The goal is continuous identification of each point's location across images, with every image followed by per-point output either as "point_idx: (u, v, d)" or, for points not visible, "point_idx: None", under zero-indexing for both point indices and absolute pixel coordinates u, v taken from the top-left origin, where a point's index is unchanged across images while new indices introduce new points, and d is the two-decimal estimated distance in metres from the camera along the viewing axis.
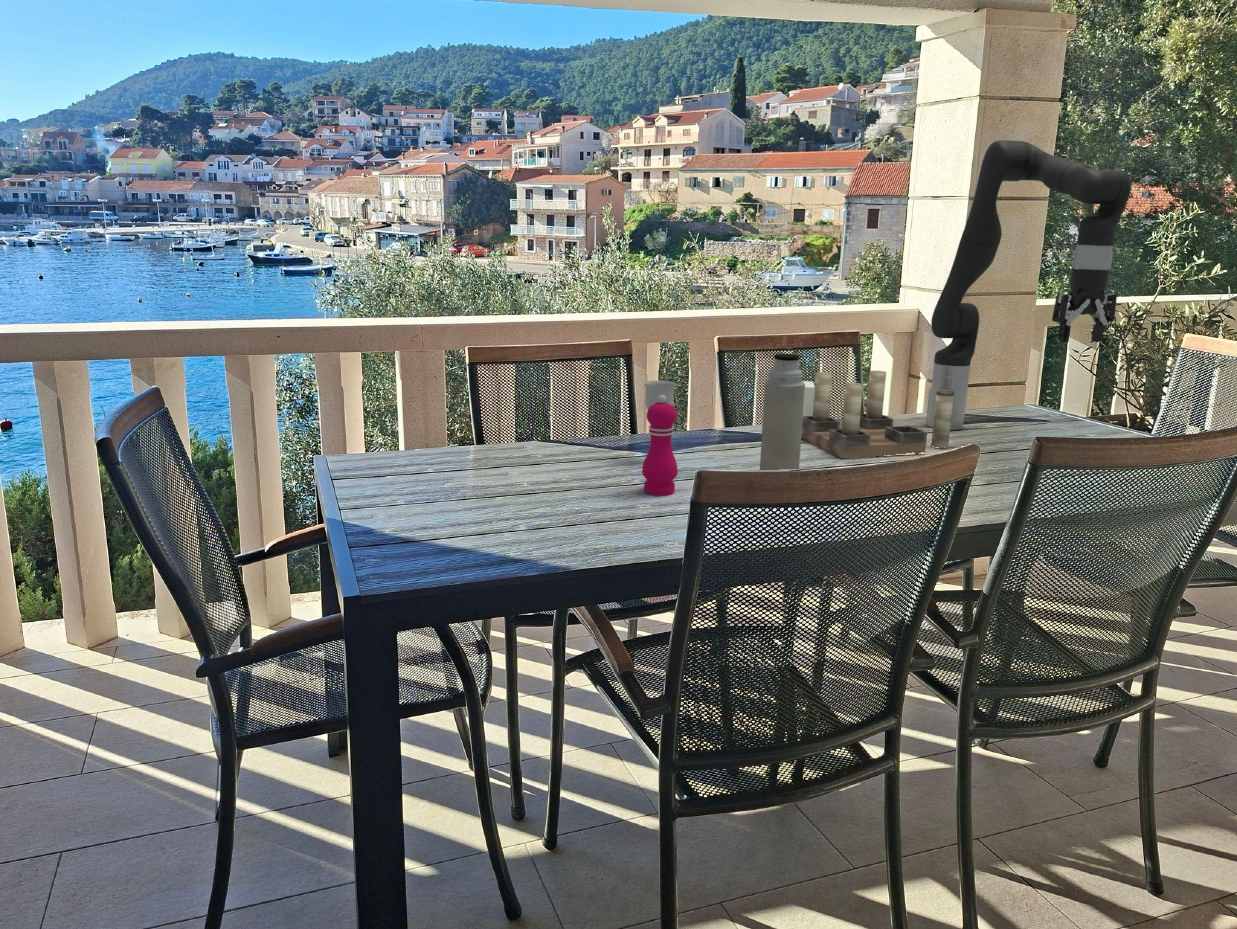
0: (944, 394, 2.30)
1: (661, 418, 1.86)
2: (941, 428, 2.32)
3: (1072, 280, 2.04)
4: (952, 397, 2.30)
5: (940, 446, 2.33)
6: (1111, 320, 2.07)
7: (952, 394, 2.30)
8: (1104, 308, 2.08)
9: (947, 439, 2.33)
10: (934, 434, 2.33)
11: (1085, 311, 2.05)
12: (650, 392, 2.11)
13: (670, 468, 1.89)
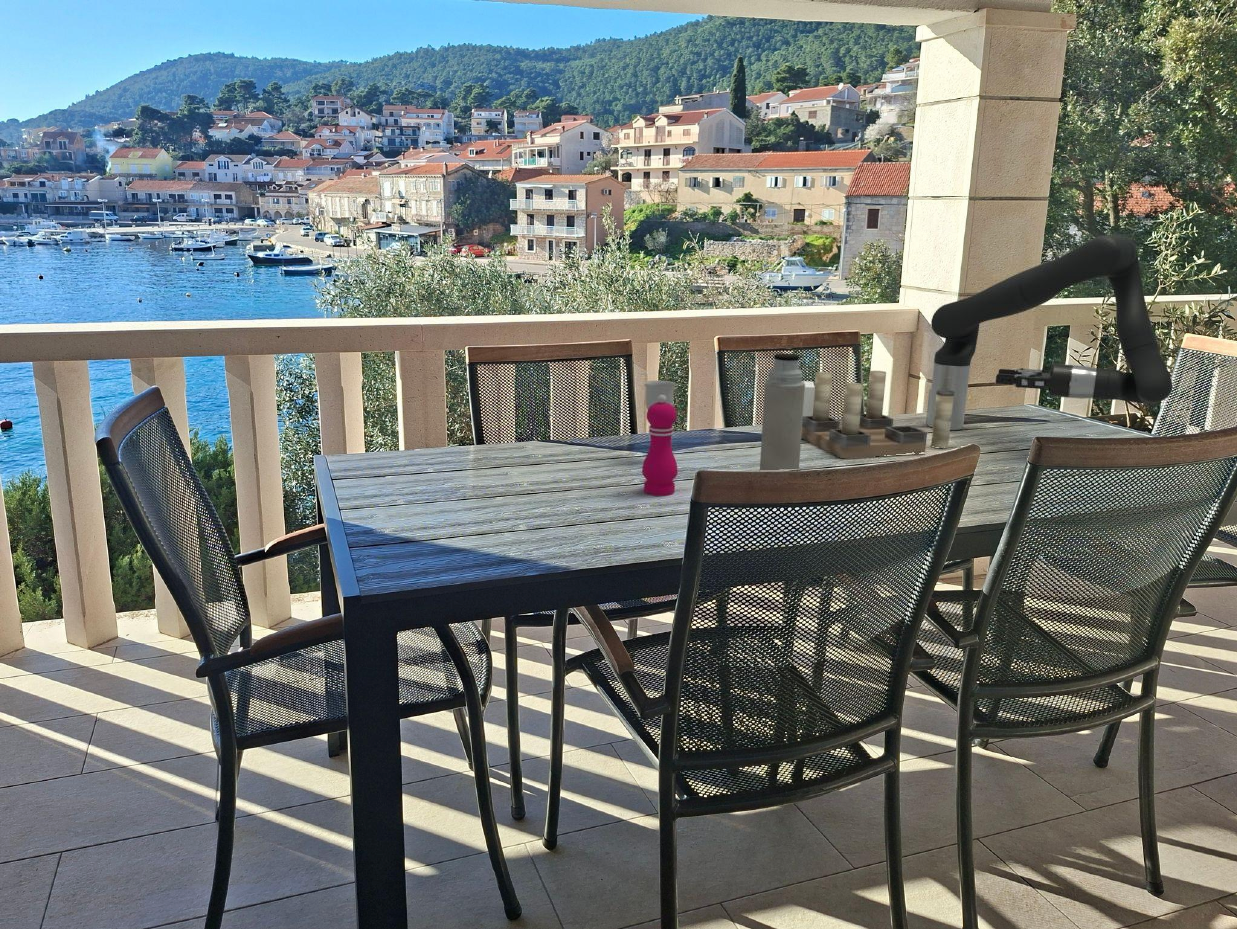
0: (944, 394, 2.30)
1: (661, 418, 1.87)
2: (941, 428, 2.32)
3: (1059, 379, 2.17)
4: (952, 397, 2.30)
5: (940, 446, 2.33)
6: None
7: (952, 394, 2.30)
8: None
9: (947, 439, 2.33)
10: (934, 434, 2.33)
11: None
12: (650, 392, 2.11)
13: (670, 468, 1.89)
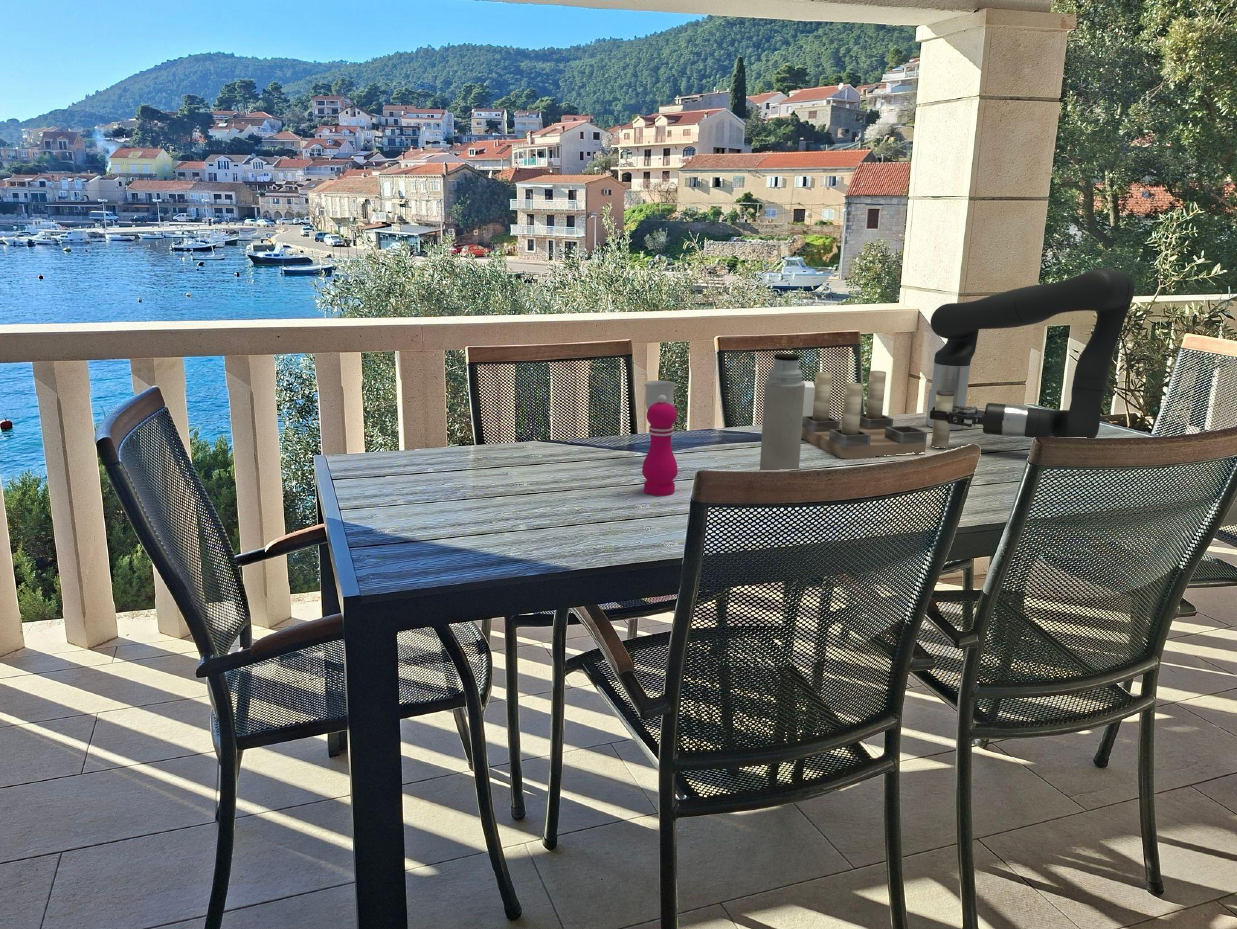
0: (944, 394, 2.30)
1: (661, 418, 1.86)
2: (941, 428, 2.32)
3: (992, 418, 2.25)
4: (952, 397, 2.30)
5: (940, 446, 2.33)
6: None
7: (952, 394, 2.30)
8: None
9: (947, 439, 2.33)
10: (934, 434, 2.33)
11: None
12: (650, 392, 2.11)
13: (670, 468, 1.89)
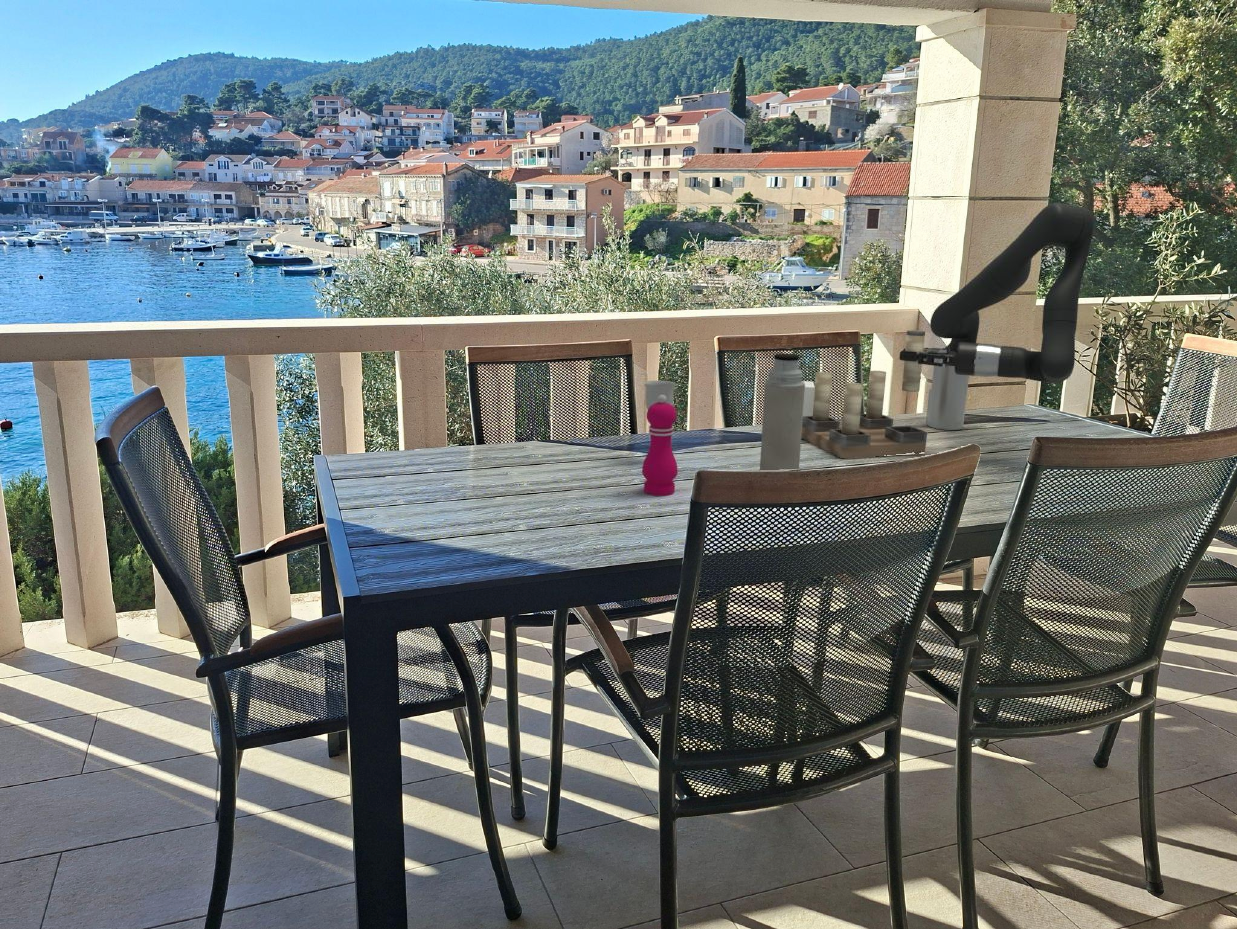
0: (914, 334, 2.20)
1: (661, 418, 1.87)
2: (912, 370, 2.23)
3: (964, 357, 2.15)
4: (923, 337, 2.21)
5: (911, 389, 2.24)
6: None
7: (923, 334, 2.21)
8: None
9: (918, 381, 2.24)
10: (905, 376, 2.24)
11: None
12: (650, 392, 2.11)
13: (670, 468, 1.89)
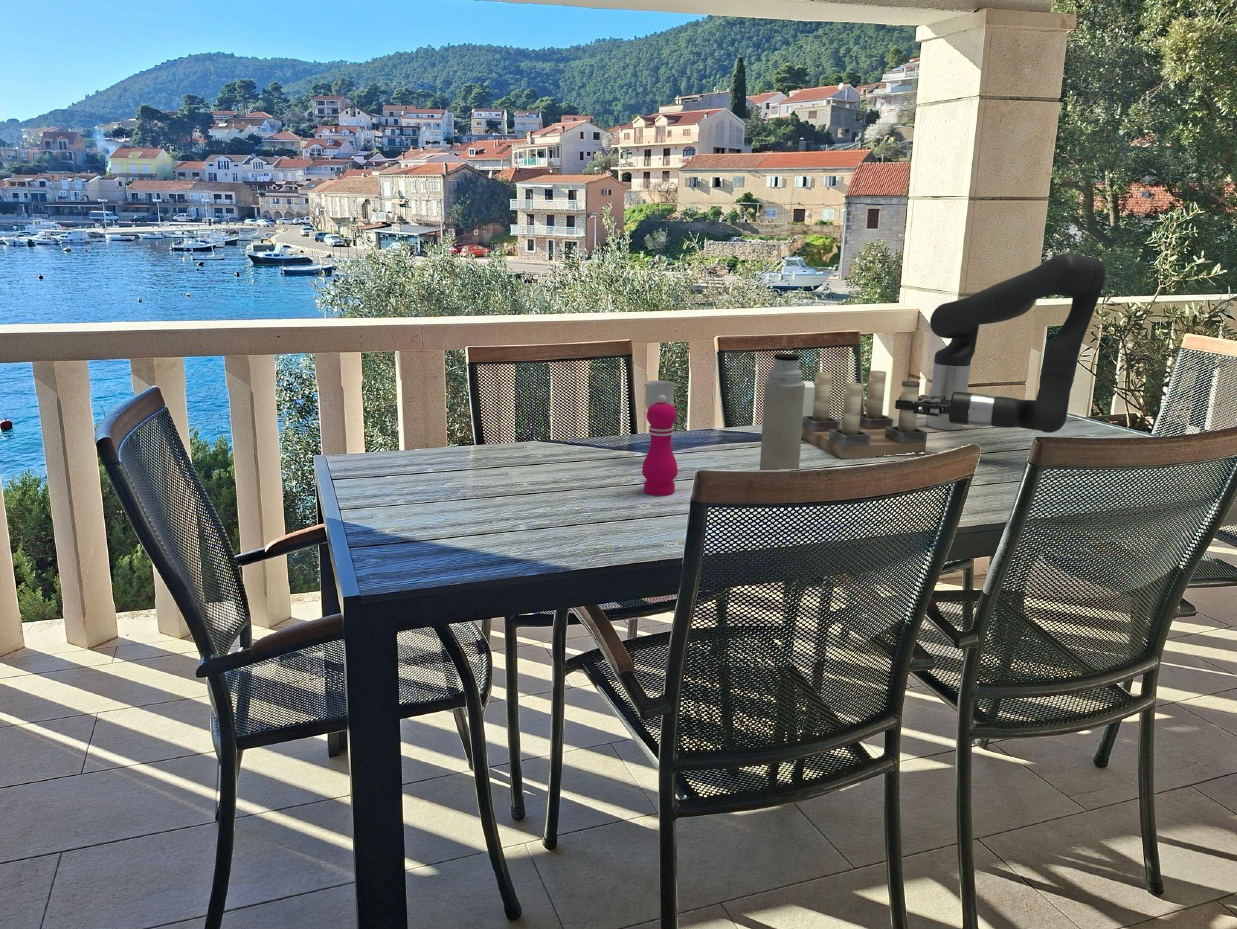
0: (909, 385, 2.24)
1: (661, 418, 1.87)
2: (906, 420, 2.26)
3: (958, 407, 2.19)
4: (917, 388, 2.24)
5: None
6: None
7: (917, 385, 2.24)
8: None
9: (913, 431, 2.27)
10: (900, 426, 2.27)
11: None
12: (650, 392, 2.11)
13: (670, 468, 1.89)
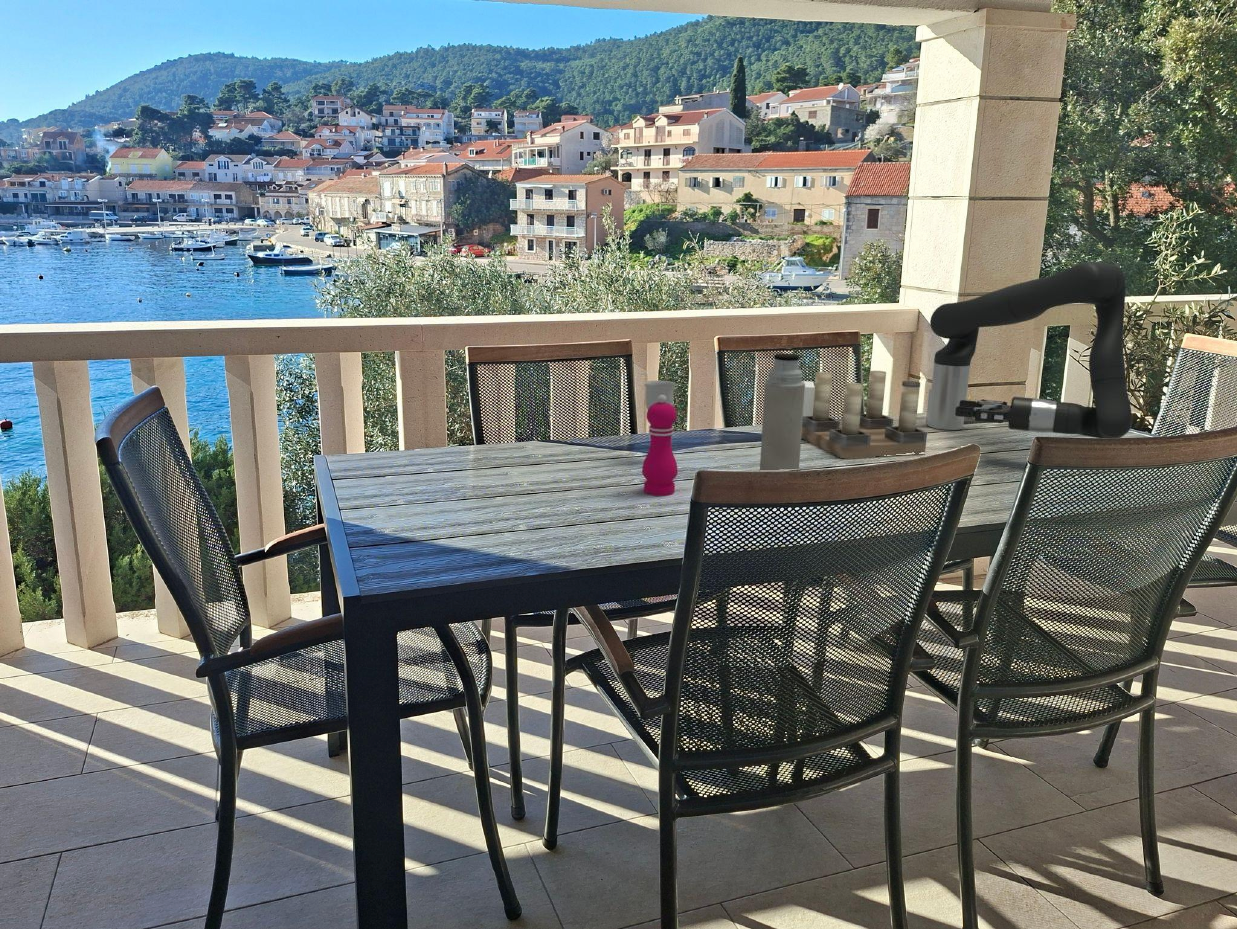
0: (909, 385, 2.24)
1: (661, 418, 1.87)
2: (907, 420, 2.26)
3: (1018, 413, 2.13)
4: (918, 388, 2.24)
5: None
6: None
7: (918, 385, 2.24)
8: (992, 403, 2.24)
9: (913, 431, 2.27)
10: (900, 426, 2.27)
11: None
12: (650, 392, 2.11)
13: (670, 468, 1.89)
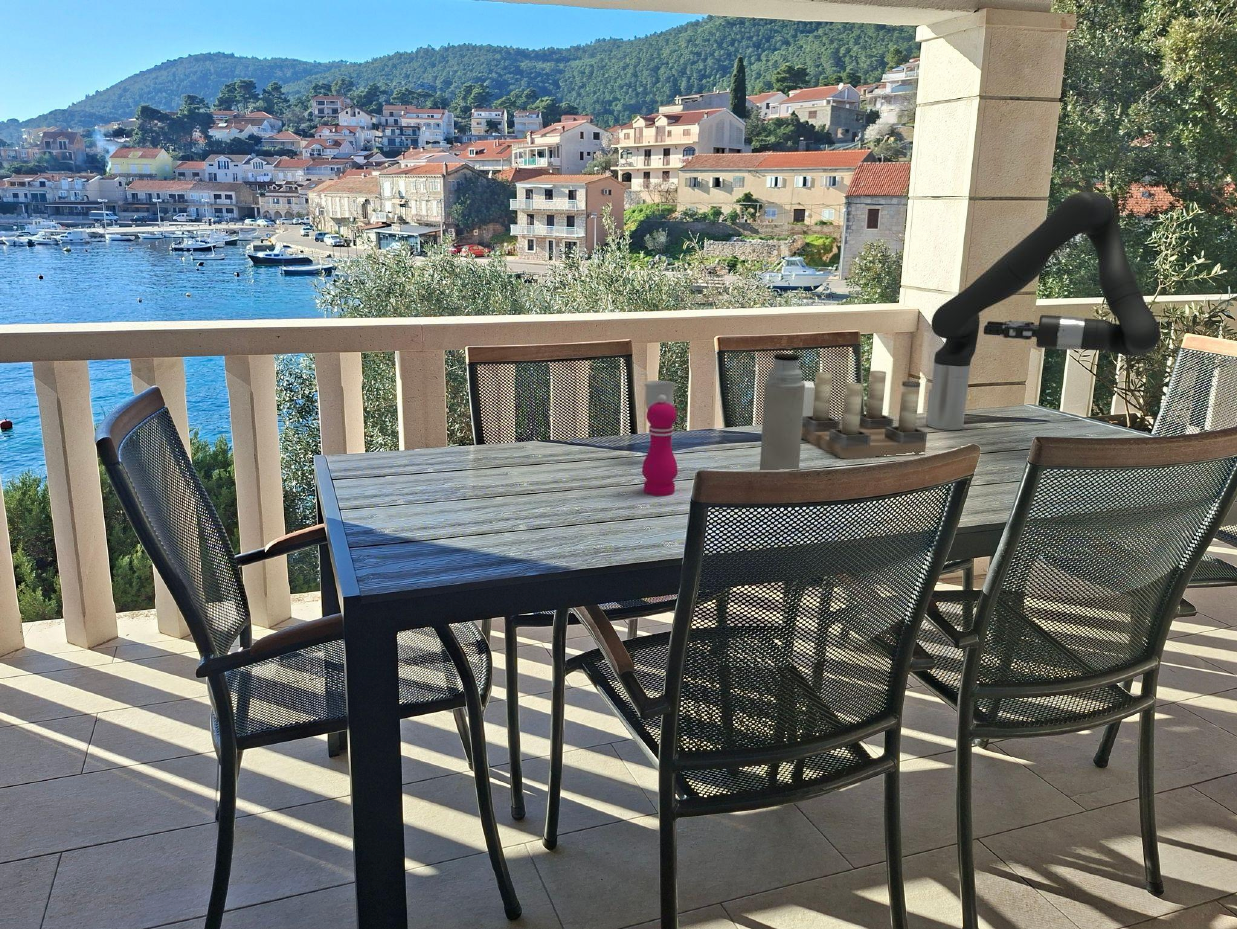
0: (909, 385, 2.24)
1: (661, 418, 1.87)
2: (907, 420, 2.26)
3: (1047, 330, 2.15)
4: (918, 388, 2.24)
5: None
6: None
7: (918, 385, 2.24)
8: None
9: (913, 431, 2.27)
10: (900, 426, 2.27)
11: None
12: (650, 392, 2.11)
13: (670, 468, 1.89)
